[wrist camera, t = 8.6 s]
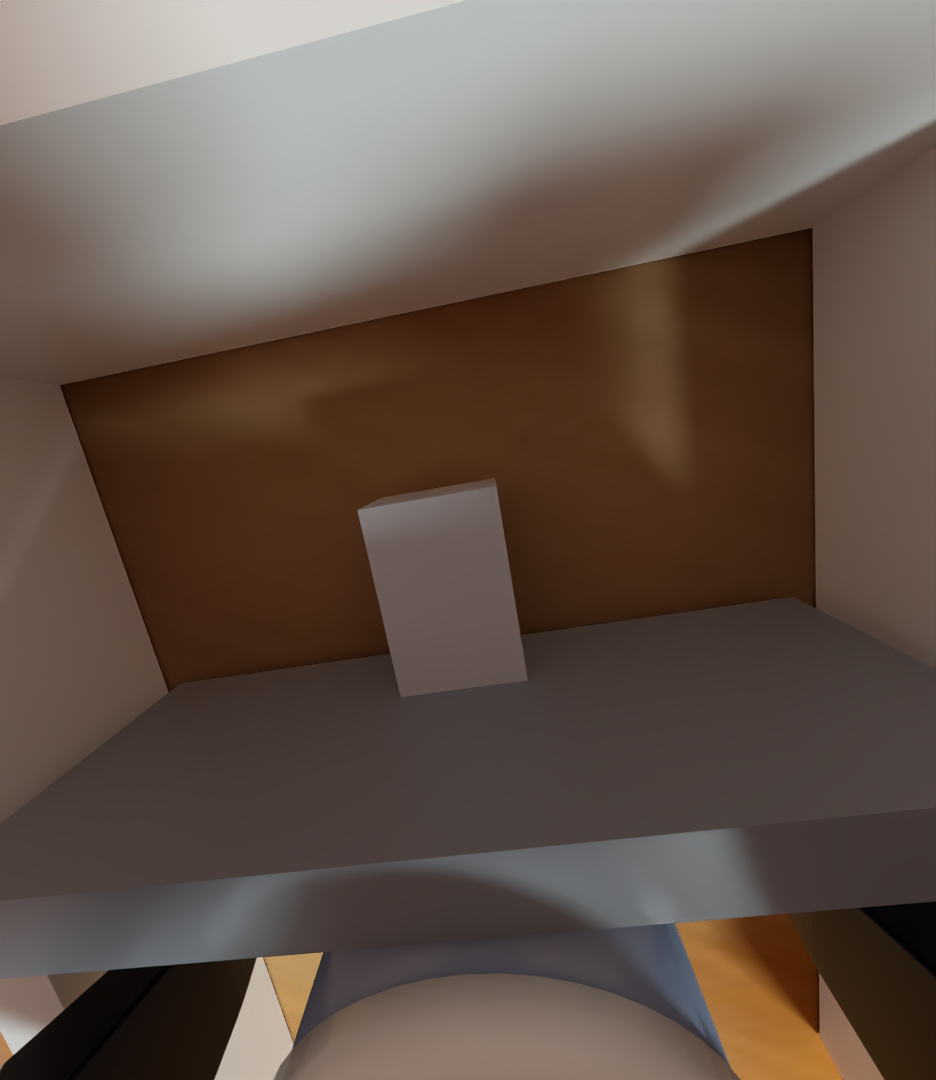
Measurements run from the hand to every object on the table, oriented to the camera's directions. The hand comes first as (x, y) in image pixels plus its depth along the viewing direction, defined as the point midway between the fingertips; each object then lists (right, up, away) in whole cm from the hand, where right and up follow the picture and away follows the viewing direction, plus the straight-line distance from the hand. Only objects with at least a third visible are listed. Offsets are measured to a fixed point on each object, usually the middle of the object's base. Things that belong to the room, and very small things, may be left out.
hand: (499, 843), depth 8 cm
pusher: (-1, +5, 0) cm, 5 cm away
